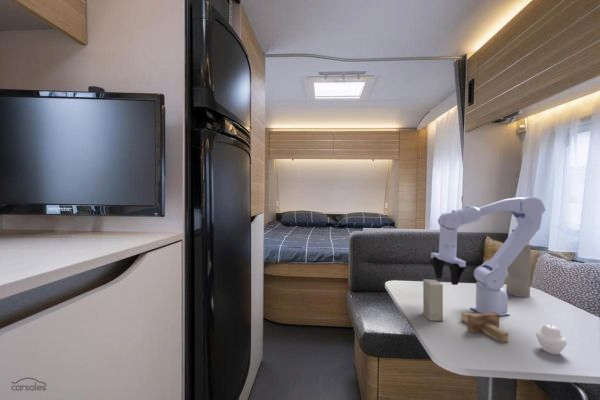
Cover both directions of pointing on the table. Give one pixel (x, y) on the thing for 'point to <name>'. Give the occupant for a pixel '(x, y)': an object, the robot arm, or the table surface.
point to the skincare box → (433, 299)
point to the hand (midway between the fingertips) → (446, 281)
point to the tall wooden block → (482, 320)
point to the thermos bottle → (520, 273)
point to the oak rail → (490, 330)
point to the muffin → (551, 339)
